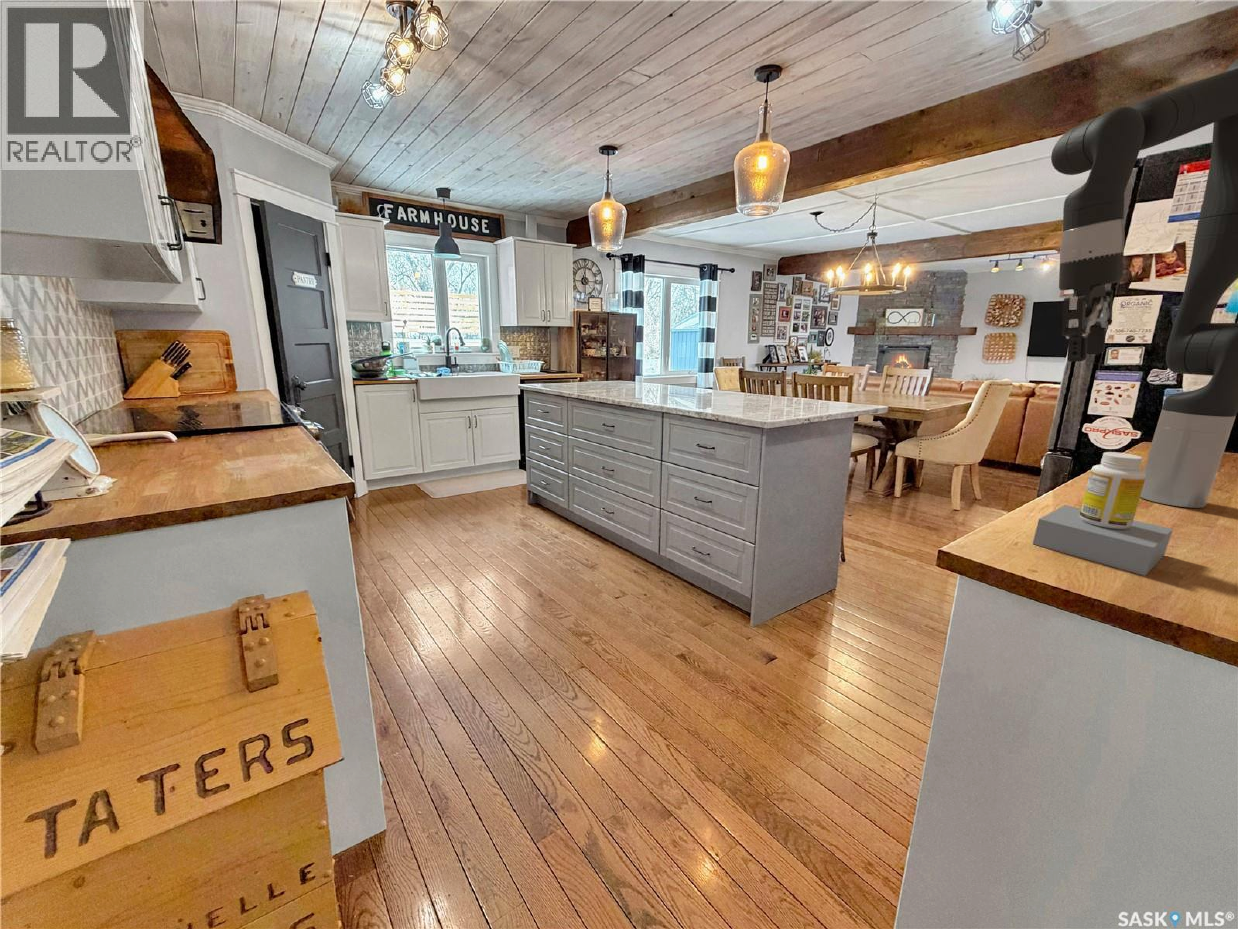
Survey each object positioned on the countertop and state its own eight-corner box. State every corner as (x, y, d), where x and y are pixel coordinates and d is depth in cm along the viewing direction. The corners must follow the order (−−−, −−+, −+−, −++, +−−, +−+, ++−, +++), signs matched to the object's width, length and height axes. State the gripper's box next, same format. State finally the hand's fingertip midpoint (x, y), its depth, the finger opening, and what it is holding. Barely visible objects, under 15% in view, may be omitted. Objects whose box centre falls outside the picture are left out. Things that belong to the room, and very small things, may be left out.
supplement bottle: (1133, 525, 72) (1154, 456, 70) (1127, 533, 69) (1149, 462, 66) (1082, 514, 76) (1100, 448, 74) (1074, 521, 73) (1092, 453, 70)
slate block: (1059, 528, 82) (1065, 504, 81) (1164, 555, 72) (1173, 529, 71) (1032, 544, 75) (1038, 518, 74) (1144, 576, 65) (1154, 547, 64)
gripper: (1107, 251, 74) (1101, 362, 77) (1137, 248, 81) (1130, 349, 84) (1043, 263, 80) (1041, 365, 84) (1076, 259, 87) (1073, 353, 91)
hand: (1086, 357), depth 84 cm, fingers open, 8 cm apart
